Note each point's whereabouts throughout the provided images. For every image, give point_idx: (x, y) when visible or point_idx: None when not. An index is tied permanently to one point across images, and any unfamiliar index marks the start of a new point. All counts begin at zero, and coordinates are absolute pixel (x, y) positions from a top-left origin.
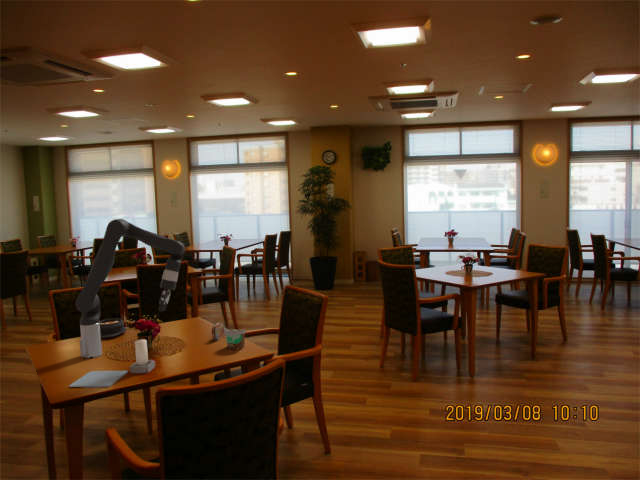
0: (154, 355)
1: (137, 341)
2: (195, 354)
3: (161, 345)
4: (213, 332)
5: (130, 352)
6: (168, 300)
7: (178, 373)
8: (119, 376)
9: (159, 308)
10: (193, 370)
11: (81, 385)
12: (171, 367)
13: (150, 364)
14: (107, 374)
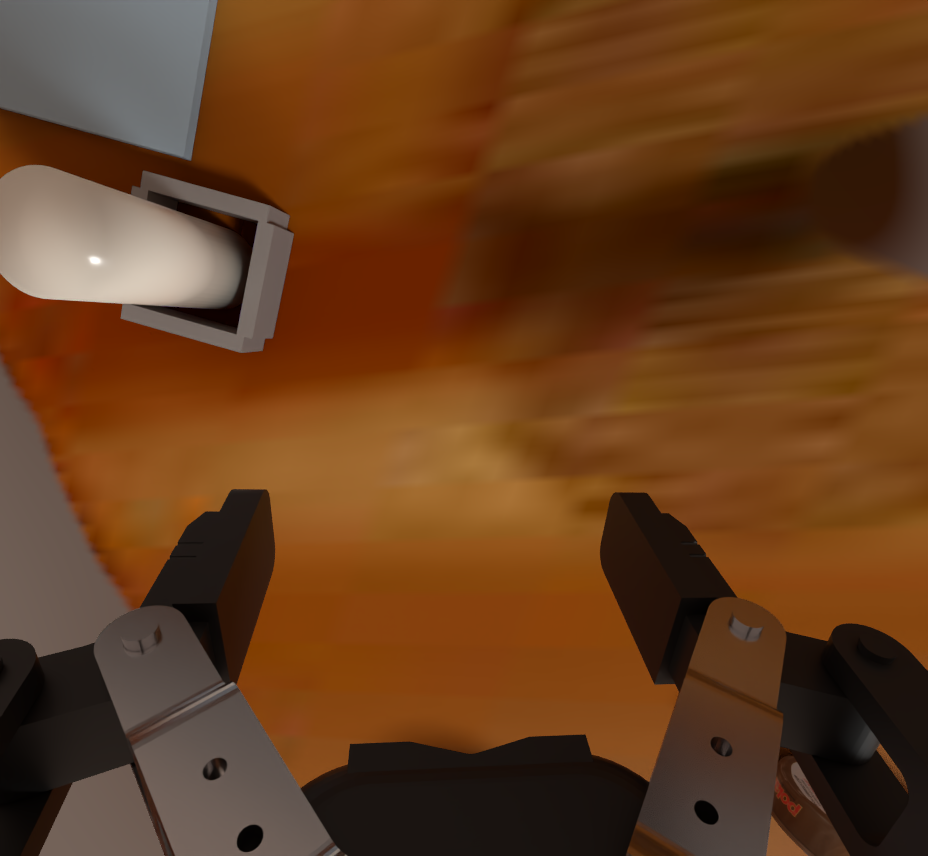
0: (547, 311)
1: (26, 197)
2: (461, 614)
3: (834, 339)
4: (789, 811)
5: (724, 74)
6: (854, 771)
7: (95, 515)
8: (69, 120)
9: (181, 541)
10: (130, 602)
11: None
12: (220, 465)
13: (163, 330)
14: (128, 8)
